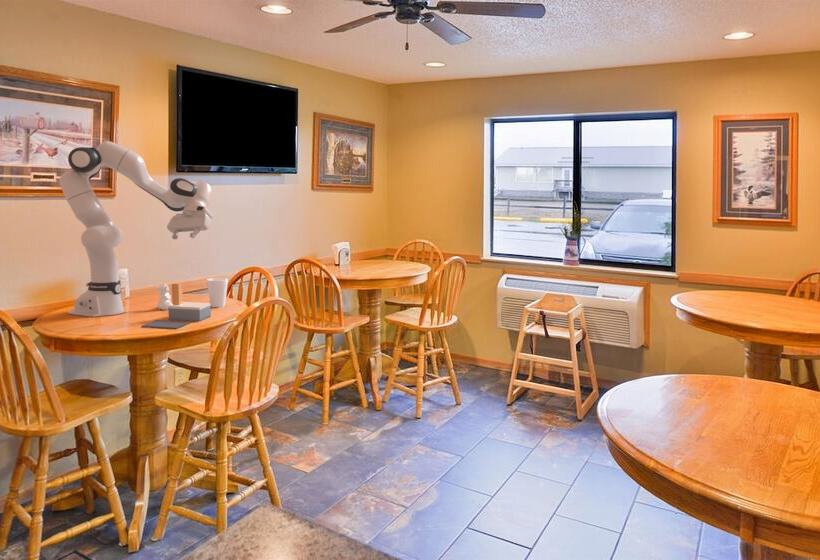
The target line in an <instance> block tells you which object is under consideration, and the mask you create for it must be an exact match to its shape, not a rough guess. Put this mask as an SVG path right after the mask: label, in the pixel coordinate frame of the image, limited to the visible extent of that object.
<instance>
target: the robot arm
mask: <svg viewBox="0 0 820 560" xmlns="http://www.w3.org/2000/svg"><path fill="white" fill-rule="evenodd" d="M67 162H68V165H69V166H70V170H68V171H66V172H64V173H63V174H61V176H60V177H59V181H58V182H59V184H60V185H59V186H60V189H61V191H62V192H63V195H64V197H65V200H66V201H67V203H68V205H69V208H70V209H71V210H72V213H73V214H74V216H75V217H76V219H77V220H78V221H80V222H81V223H82V224H83V226H85V228H86V229H85V230H84V231H83V232H82V233H81V236H80V241H81V244H82V246H83V247H84V248H85V251H86V255H87V258H88V261H89V267H90V268H89V269H90V270H89V271H90V282H88V283H86V284H85V287H87V289H86V291H85V292H83V293H82V294H81V295H80V296H78V297H77V298H76V299H75V300H74V308H72V309H70V310H69V311H68V314H69V315H76V316H81V317H82V316H84V317H92V318H95V317H103V316H113V315H119V314H123V313H125V312H126V310H125V307H124V304H123V300H122V296H121V295H122V294H121V292H122V285H121V283H122V282H121V280H120V272H119V271H120V269H119V267H120V266H119V262H118V260H117V258H116V255H115V252H114V248H116V247H118V246H119V244H121V242H122V240H123V239H124V234H123V233H124V232H123V231H122V228H120V227H119V226H118V225H117V224H116V223H115V222H114V220H113V219H112V218H111V216H110V215H108V213H107V211H105V209H104V207H103V206H102V204H101V202H100V201H99V199H98V196H97V195H96V193H95V191H94V190H93V187H92V186H91V183H90V180H91V179H92V178H94V177H95V176H96V175H98V174H99V173H100V172H101V169H102V167H106V168H110V169H112V170H114V171H115V172H117V173H119V174H121V175H123V176H124V177H126V178H127V179H129V180H130V181H131V182H133V184H135V186H137V187H138V188H140V189H141V190H143V191H145V192H146V193H148V194H149V195H150V196H152V197H154V198H156V199H157V200H159V201H160V202H161V203H163V205H164V206H165V207H166V208H167V209H169V210H171V211H173V212H181V213H176V214H175V215H173V216H172V217H171V218H170V220H169V221H168V224H167V226H166V228H167V230H168V231H169V232H171V233H172V236H171V238H172V239H173V240H178V237H179V236H178V235H177V234H179V233H184V232H190V235H189V237H190V238H191V239H196V237H197V235H198V234H199V233H200V232H201V231H207V230H209V228H210V226H211V223H212V219H213V217H214V215H213V214H212V212H211V211H210V210H209V209H208V208H207V206H209V204H210V201H211V198H212V193H213V191H212V190H213V189H212V187H211V186H210V184H209V183H208V182H205V181H203V180H196V181H195V180H194V181H193V180H188V179H185V178H181V177H176V178H174V179H173V180H172V181H170V184H169V187H168V188H167V187H165V186H164V185H162V184H160V183H159V182H157V180H155V179H153V178H152V177H151V175H150V174H149V171H148V168H147V166H146V162H145V160H144V158H143V157H142V156H141V155H139V154H138V153H137V152H135V151H134V150H131V149H129V148H127V147H126V146H123V145H120V144H118V143H116V142H113V141H110V140H105V141H102V142H101V143H100V144H99V145H98V146H97V148H95V147H85V146H83V147H82V146H81V147H76V148H73V149H72V150H71V151H70V152H69V154H68V156H67Z"/></svg>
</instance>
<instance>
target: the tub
mask: <svg viewBox="0 0 820 560" xmlns="http://www.w3.org/2000/svg"><path fill="white" fill-rule="evenodd" d="M211 308H212V307H211V305H210V306H208V307H206V308H203V309H201V310H189V309H170V308H168V310H167V311H168V321H179V320H183V321H186V322H198V321H200V322H202V321H205V320H207V319H209V318H210V316H212V315H211V314H212V313H211V312H212V311H211ZM208 317H209V318H208ZM206 318H207V319H206ZM204 319H205V320H204Z"/></svg>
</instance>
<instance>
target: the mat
mask: <svg viewBox="0 0 820 560" xmlns="http://www.w3.org/2000/svg"><path fill="white" fill-rule="evenodd" d="M189 324H191V321H179V320H169V319H168V320H166V319H165V320H164V319H163V320H162V319H156V320H153V321H150V322H147V323H145V324H143V325H141V328H147V327H150V328H151V329H164V328H166V329H167V330H178V329H180V328H182V327H185V326H187V325H189ZM150 328H149V329H150Z"/></svg>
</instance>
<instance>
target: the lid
mask: <svg viewBox="0 0 820 560" xmlns="http://www.w3.org/2000/svg"><path fill="white" fill-rule="evenodd" d="M171 299H172V302H171V303H173V305H170V306H168V308H170V309H189V310H201V309H203V308H206V307H208V306H211V304H210V303H209V302H196V301H195V302H193V301H183V283H182V282H173V283H171Z"/></svg>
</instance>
